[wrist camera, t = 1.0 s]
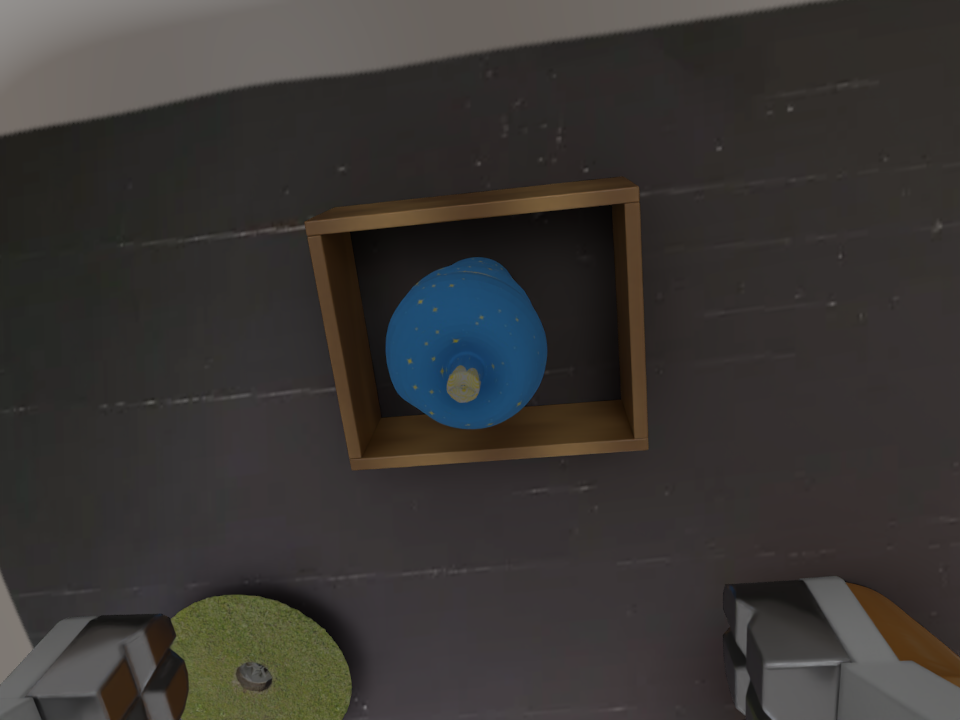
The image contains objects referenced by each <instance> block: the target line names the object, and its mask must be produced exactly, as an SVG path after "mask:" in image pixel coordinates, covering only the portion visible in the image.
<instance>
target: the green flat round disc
mask: <svg viewBox="0 0 960 720" xmlns="http://www.w3.org/2000/svg"><path fill="white" fill-rule="evenodd" d="M171 622H172V624H173V627H174V630H175V633H176V635H177V636H176V638H175V641H174V643H173V645H172V647H171V649H172V650H173V651H174V652H176V653H177V654H178V655H179V656H180V657H181V658H182V659H184V661H185V664H186V668H187V671H188V678H189V692H188V697H187V701H186V706H185V710H184V712H183V714H182V716H181V718H182V719H183V720H342V719H343V717H344V715H345V713H346V712H347V708H348V706H349V704H350V698H351V688H352V686H351V684H352V683H351V675H350V672H349V667H348V665H347V663H346V660H345V658H344V656H343V653H342V651H341V650H340V649H339V647H338V646H337V644H336V643H335V642H334V640H333V639H332V637H331V636H329V635H328V633H327V632H326V630H325V629H323V628H322V627H321V626H319V625H318V624H316V622H315V621H313V620H312V619H310V618H308V617H306V616H305V615H304V614H302V613H301V612H300V611H298V610H296V609H293V608H290V607H288V605H286V604H282V603H280V602H279V601H274V600H271V599H267V598H263V597H261V596H247V595H221V596H218V597H216V596H214V597H211V598H206V599H205V600H201V601H198V602H194V603H193V604H192V605H190V606H188V608H185V609H183V610H181V611H180V612H178V613H177V614H176V616H174V617H173V618H172V619H171Z"/></svg>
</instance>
